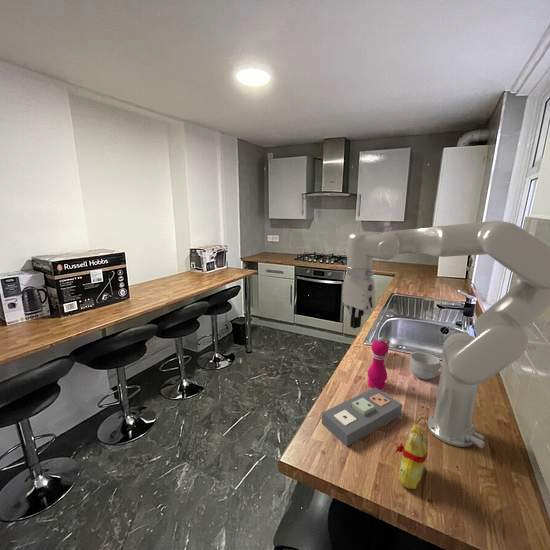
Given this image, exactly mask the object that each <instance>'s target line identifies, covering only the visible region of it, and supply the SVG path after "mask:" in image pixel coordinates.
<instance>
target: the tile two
mask: <svg viewBox="0 0 550 550" xmlns="http://www.w3.org/2000/svg"><path fill="white" fill-rule="evenodd" d="M352 408H353V409H354V410H356V411H357V412H358V413H359V414H361V415H362V416H363V417H364V416H366V415H368V414H370V413H372V412H374V410H375V406H374V405H373V404H371V403H370V402H368V401H367V400H366V399H364V398H361V399H359V400H357V401H355V402H353V403H352Z"/></svg>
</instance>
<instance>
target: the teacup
mask: <svg viewBox="0 0 550 550" xmlns="http://www.w3.org/2000/svg"><path fill="white" fill-rule="evenodd" d="M409 356H410V357H409V370H410V371H411V373H412V374H413V375H414V376H415V377H417V378H419V379H421V380H432V379H434V378H436V377H440V374H441V371H439V369H441V365H442V362H441V361H440V359H439V358H438V357H437V356H435V355H433V354H431V353H426V352H417V351H416V352H413V353H411V354H410V355H409Z"/></svg>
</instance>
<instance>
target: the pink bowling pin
mask: <svg viewBox="0 0 550 550" xmlns="http://www.w3.org/2000/svg"><path fill="white" fill-rule="evenodd" d="M383 339H384V338H383V337H380V336H379V337H378V338H377V339H376V340H374V341H373V342H372V344H371V347H370V348H371V351H372V352H371V354H372V355H371V356H372V358H373V359H372V363H371V365H370V366H369V368H368V370H367V377H368V380H367V384H368V386H369V388H371V389H373V388H375V387H376V388H377V389H379V390H380V391H382V390H384V389H385V388H386V381H387V379H388V372H387V369H386V367H385V360H386V359H387V355H386V353H387V352H389V350H388V345H387V344H386V343H385V342H384V341H383ZM387 354H388V353H387Z"/></svg>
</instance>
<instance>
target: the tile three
mask: <svg viewBox="0 0 550 550" xmlns="http://www.w3.org/2000/svg"><path fill="white" fill-rule="evenodd" d="M369 400H371V401H372V402H373V403H375V404H376V405H378V406H379V407H383V406H385V405H387V404H389V403H390V402H391V401H390V400H388V399H387V398H385V397H384V396H382V395H381V394H379V393H378V394H376V395H374V396H372V397H370V398H369Z"/></svg>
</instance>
